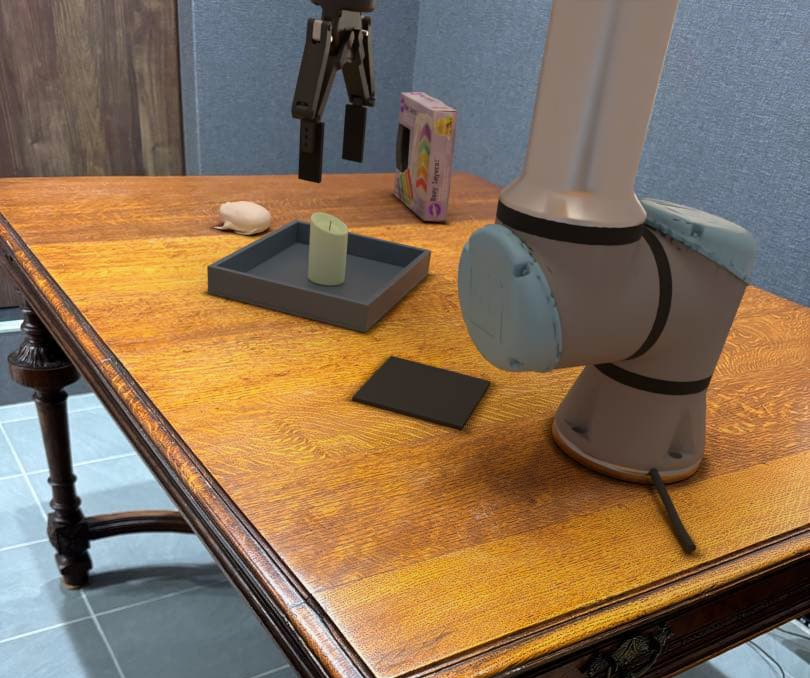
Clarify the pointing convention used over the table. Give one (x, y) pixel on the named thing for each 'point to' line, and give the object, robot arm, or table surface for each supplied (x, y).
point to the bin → (295, 294)
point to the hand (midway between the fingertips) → (332, 170)
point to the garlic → (244, 217)
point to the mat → (423, 392)
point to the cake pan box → (425, 155)
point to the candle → (327, 250)
